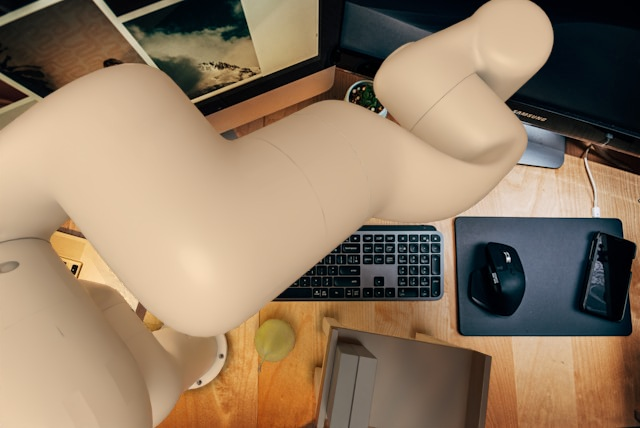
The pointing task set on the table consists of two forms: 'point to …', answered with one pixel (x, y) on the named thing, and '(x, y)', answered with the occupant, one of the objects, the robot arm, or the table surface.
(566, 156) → the table surface
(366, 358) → the grey book
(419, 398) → the brown shallow tray
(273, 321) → the fruit
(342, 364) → the grey book
